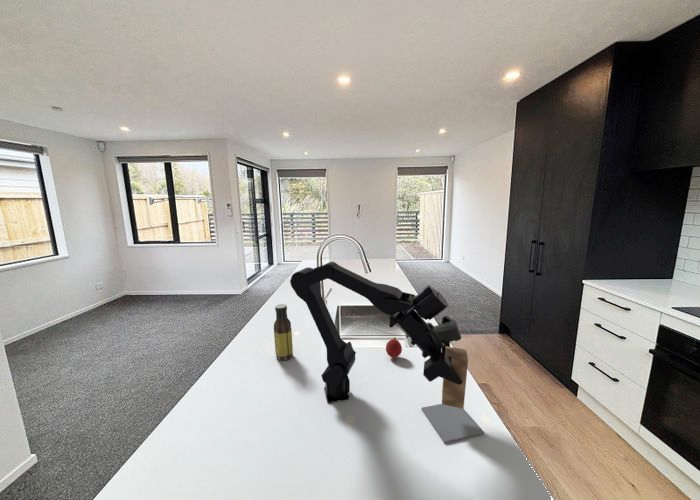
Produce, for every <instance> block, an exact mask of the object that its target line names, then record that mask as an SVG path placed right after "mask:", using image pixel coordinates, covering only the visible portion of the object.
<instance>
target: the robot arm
mask: <svg viewBox="0 0 700 500" xmlns="http://www.w3.org/2000/svg"><path fill="white" fill-rule="evenodd" d="M327 279H328V280H330V281H332V282H334V283H336V284H338V285H341V286H342V287H344V288H347V290H350V291H352V292H354V293H356V294H358V295H360V296H361V297H363V298H365V299H367V300H368V301H369V302H370V303H371V304H372V306H373V307H375V308H376V309H377V310H379V311H381V313H383V314H385V315H387V316H389V317H388V318H389V324H388V325H389V326H388V327H389V328H390V329H391V328H393V327H394V326H395V325H398V326H399V327H400V329H402V330H403V332H404V333H405V334H406V335H407V337H409V339H410V344H411V345H412V347H413V346H415V345H416V346H417V348H419V350H420V351H421V356H422V357H423V358H424V359H426V358H427V360H424V361H423V362H424V363H423V373H422V375H423V377H424V378H425V379H426V380H427V381H428V382H429V383H431V382H433V381H434V380H436V379H438V378H441V379H443V378H444V379H446V380H449V381H451V382H453V383H456V384H458V385H460V384H462V380H461V379H460V377H459V376H458V374H457V373H456V371H455V370H454V368H453V367H452V366H451V356H450V357H447V355H446V354H445V348H446V346H448V347H451V342H454V341H455V342H458V341H461V340H462V334H461V330H460V327H459V326H458V325H459V324H458V323H457V321H456V320H455V319H452V318H451V317H450V316H449V315H445V316H442V317H441V322H439V323H438V324H437V325H434V324H432V323H431V322H426V321H427V320H429V321H432V319H434V318H435V317H436V316H437V315H439V314H441V313H442V312H443V311H445V310H446V309H447V308H449V306H450V305H449V303H448V301H447V300H446V299H445V296H443V294H442V293H441V292H440V291H438V290H437V289H435V288H434V287H432V286H431V285H430V284H428V285H427V286H425V287H424V288H423V290H422V291H420V292H419V293H418V294H416V295H415V294H413V293H408V292H404V291H402V290H401V289H399V287H395V286H392V285H388V284H385V283H378V282H374V281H372V280H371V279H368V278H366V277H364V276H362V275H360V274H357V273H355V272H354V271H352V270H349V269H348V268H345V267H343V266H341V265H339V264H338V263H337V262H335V261H329V262H327V263H325V264H322V265H320V266H317V267H314V268H313V267H309V266H308V267H305V268H303V269H300V270H298V271H296V272H295V273H293V274H292V275H291V278H290V280H289V283H290V286H291V289H292V290H293V291H294V292H295V294H296V296H297V297H298V298H300V299H301V300H302V301H303V302H305V304H306V306H307V308H308V310H309V312H310V315H311V317H312V319H313V321H314V323H315V326H316V328H317V330H318V332H319V334H320V337H321V339H322V340H323V343H324V346H325V348H326V361H327V367H326V368H325V370H324V371H323V373H321V379H322V382H323V383H325V384H324V387H323V391H324V394H325V398H326V402H327V404H330V403H335V402H343V401H347V400H348V401H349V400H350V396H349V395H350V394H349V393H350V392H351V391H350V390H351V389H350V384H351V381H350V378H349V376H348V375H349V373H350V372H351V369H352V368H353V366H354V364H355V362H356V353H357V352H356V351H355V350H354V348H353V345H352V342H351V341H348V342H345V341H344V340H343V339H342V337H341V335H340V333H339V331H338V328H337V327H336V325H335V323H334V322H335V321H334V320H333V318H332V316H331V314H330V312H329V308H328V307H327V305H326V303H325V301H324V298H323V296H322V284H321V282H322V281H324V280H327ZM428 357H429V358H428Z"/></svg>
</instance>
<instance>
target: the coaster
mask: <svg viewBox="0 0 700 500" xmlns="http://www.w3.org/2000/svg"><path fill="white" fill-rule="evenodd" d="M421 411H422V412H423V414H424V416H425V417H426V418H427V420H428V422H429V423H430V425H431V426H432V427H433V429H434V430H435V432H436V434H437V435H438V437H439V438H440V439H441V441H442V442H443V444H444V445H445V444H448V443H449V444H450V443H452V442H457V441H462V440H465V439H466V440H467V439H471V438H475V437H478V436H479V437H480V436H484V435H485V434H486V433H485V430H483V429H482V427H481V426H480V425H479V424H478V423H477V422H476V420H475V419H473V417H472V416H471V415H470V414H469V413H468V412H467V411H466V410H465V408H464V409H461V408H457V407H452V406H448V405H444V404H442V403H438V404H434V405H427V406H423V407H421Z"/></svg>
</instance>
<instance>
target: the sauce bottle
mask: <svg viewBox="0 0 700 500" xmlns="http://www.w3.org/2000/svg"><path fill="white" fill-rule="evenodd" d="M274 309H275V315H276V316H275V318H276V319H275V321H274V323H273V337H274V338H273V339H274V350H275V352H274V353H275V358H276V359H277V360H278V361H281V362H285V361H289V360H291V359H292V357H293V356H294V352H293V350H294V348H293V347H294V346H293V334H292V333H293V331H292V323H291V321H290V319H289V318H288V313H287V311H288V306H287V304H285V303H280V304H277V305H276V306H275V308H274Z"/></svg>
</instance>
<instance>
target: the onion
mask: <svg viewBox="0 0 700 500" xmlns="http://www.w3.org/2000/svg"><path fill="white" fill-rule="evenodd" d="M402 347H403V346H402V344H401V342H399V340H398V339H397V337H396V336H394V337H392V338H391V339H390V340H388V342H386V345H385V352H386V354H387V355H388V356H389V357H390V358H392V359H396V358H397V357H399V356H400V355H401V354H402V351H403V348H402Z"/></svg>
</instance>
